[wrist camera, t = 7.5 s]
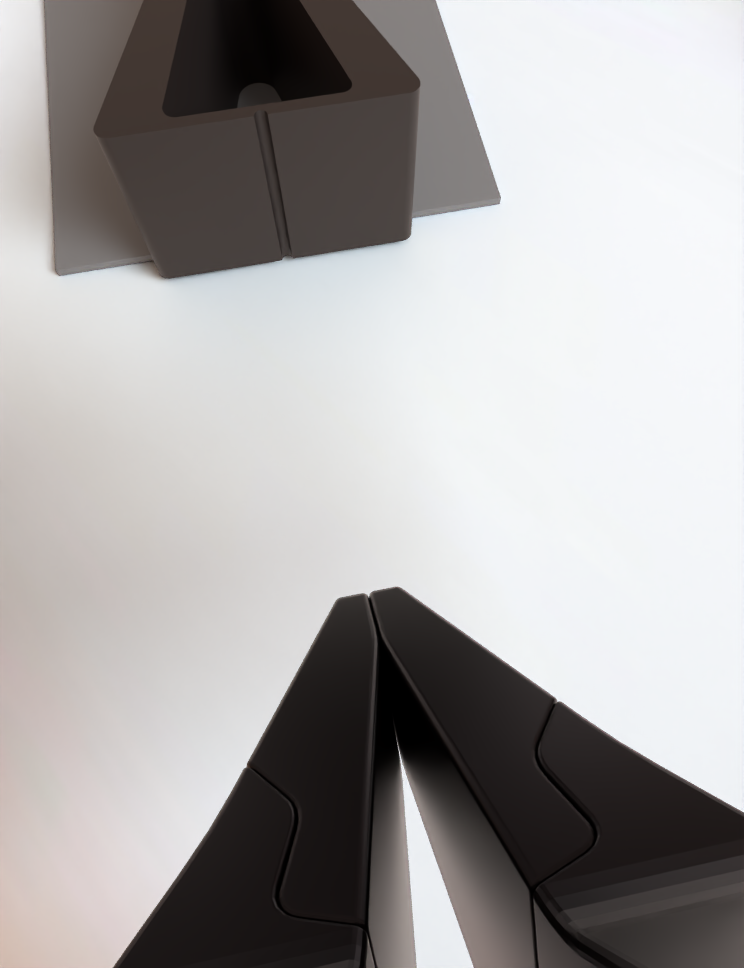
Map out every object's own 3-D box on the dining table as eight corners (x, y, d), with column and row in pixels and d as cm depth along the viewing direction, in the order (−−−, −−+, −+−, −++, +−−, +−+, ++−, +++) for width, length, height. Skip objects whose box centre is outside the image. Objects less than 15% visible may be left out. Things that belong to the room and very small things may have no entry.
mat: (499, 203, 26) (500, 197, 25) (59, 275, 25) (55, 270, 24) (398, -104, 32) (398, -111, 31) (44, -56, 31) (41, -63, 31)
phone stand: (92, 140, 19) (74, -135, 23) (160, 281, 24) (135, 39, 28) (423, 88, 19) (345, -172, 23) (414, 238, 25) (353, 7, 29)
